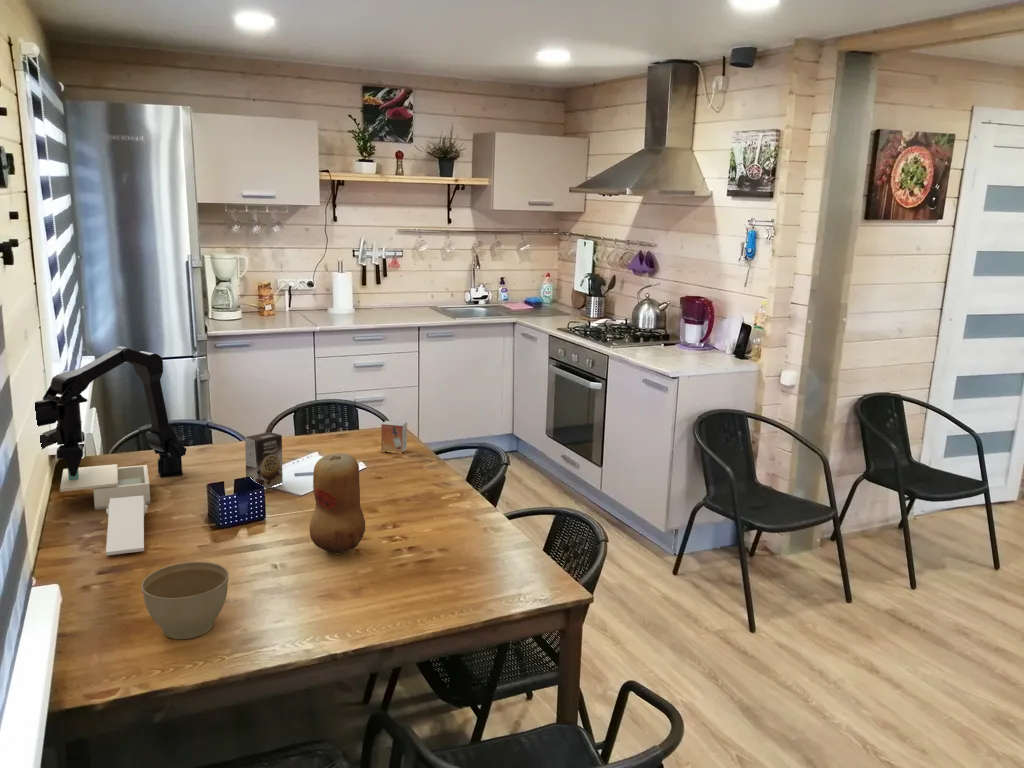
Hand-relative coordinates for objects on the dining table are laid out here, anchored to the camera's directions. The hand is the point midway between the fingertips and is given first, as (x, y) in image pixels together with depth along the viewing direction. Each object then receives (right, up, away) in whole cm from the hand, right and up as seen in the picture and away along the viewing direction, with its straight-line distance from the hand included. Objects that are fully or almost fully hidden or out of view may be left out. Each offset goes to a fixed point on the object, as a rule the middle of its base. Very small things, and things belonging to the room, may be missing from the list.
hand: (73, 473), depth 225 cm
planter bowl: (+57, -24, -63) cm, 88 cm away
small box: (+81, +1, +60) cm, 101 cm away
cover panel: (+3, -2, +2) cm, 4 cm away
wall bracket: (+24, -14, -19) cm, 33 cm away
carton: (+10, -7, +7) cm, 14 cm away
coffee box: (+48, -6, +20) cm, 52 cm away
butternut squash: (+79, -17, -24) cm, 85 cm away
